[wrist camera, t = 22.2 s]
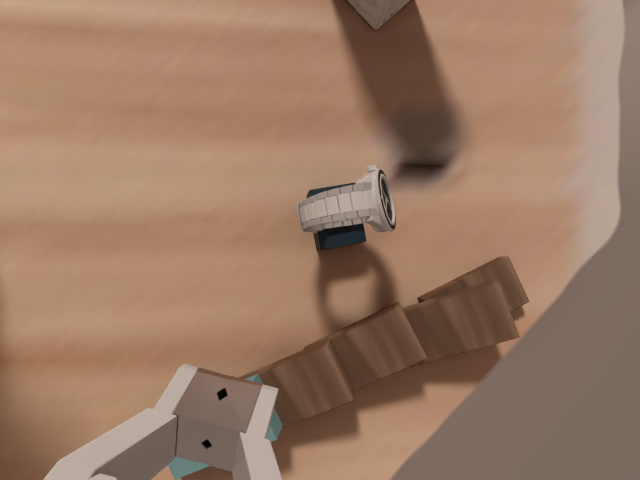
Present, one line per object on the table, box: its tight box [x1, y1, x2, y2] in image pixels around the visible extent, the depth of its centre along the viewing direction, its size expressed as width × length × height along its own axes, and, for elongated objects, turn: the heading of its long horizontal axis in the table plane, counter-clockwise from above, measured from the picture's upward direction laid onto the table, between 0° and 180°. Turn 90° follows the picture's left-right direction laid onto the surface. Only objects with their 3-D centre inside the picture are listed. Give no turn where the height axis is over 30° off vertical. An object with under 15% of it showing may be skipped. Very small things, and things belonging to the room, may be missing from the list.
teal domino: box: [168, 374, 283, 480], centre depth 31 cm, size 2×5×10 cm
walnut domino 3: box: [418, 257, 529, 312], centre depth 37 cm, size 2×5×10 cm
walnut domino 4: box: [402, 280, 520, 367], centre depth 34 cm, size 2×5×10 cm
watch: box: [297, 165, 396, 251], centre depth 30 cm, size 6×8×11 cm
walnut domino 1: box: [240, 339, 354, 428], centre depth 32 cm, size 2×5×10 cm
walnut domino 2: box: [304, 302, 427, 391], centre depth 33 cm, size 2×5×10 cm
